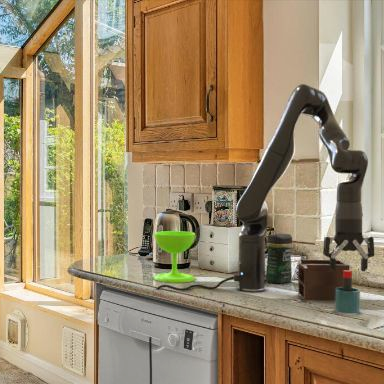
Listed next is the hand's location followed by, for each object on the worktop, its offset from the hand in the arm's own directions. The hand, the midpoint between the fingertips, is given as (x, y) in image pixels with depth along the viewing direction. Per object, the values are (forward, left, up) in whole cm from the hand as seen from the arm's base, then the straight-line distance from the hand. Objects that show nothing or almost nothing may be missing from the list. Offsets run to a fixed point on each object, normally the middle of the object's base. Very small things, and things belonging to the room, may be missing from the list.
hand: (348, 270), depth 177 cm
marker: (0, 0, -12) cm, 12 cm away
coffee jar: (-13, +48, -13) cm, 51 cm away
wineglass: (-53, +50, -13) cm, 74 cm away
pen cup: (0, 0, -13) cm, 13 cm away
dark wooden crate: (-3, +19, -13) cm, 23 cm away
